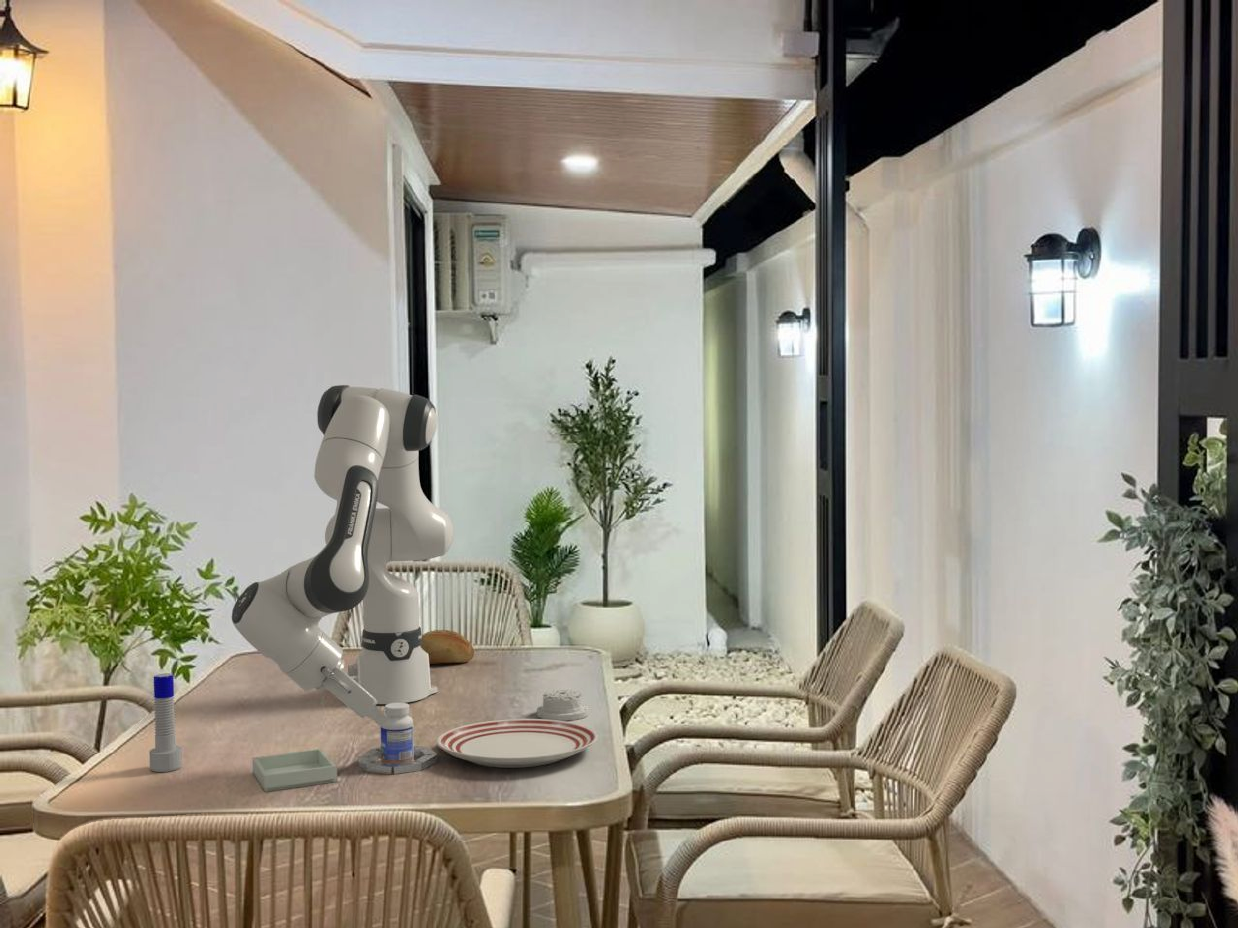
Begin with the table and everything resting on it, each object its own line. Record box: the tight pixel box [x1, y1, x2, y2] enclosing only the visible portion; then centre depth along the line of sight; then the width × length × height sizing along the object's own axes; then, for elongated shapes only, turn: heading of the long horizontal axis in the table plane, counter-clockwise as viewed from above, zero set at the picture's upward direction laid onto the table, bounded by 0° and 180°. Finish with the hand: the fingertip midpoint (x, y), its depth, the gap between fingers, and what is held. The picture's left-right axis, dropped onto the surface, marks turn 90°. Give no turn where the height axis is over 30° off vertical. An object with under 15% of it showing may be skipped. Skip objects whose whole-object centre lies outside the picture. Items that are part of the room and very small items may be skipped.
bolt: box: [148, 672, 183, 773], centre depth 200 cm, size 16×5×5 cm
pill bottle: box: [380, 702, 415, 764], centre depth 202 cm, size 5×5×10 cm
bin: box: [251, 748, 338, 793], centre depth 195 cm, size 11×11×2 cm
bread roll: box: [420, 629, 475, 665], centre depth 281 cm, size 10×15×8 cm, turn 97°
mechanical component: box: [536, 689, 590, 722], centre depth 233 cm, size 10×4×10 cm
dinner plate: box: [436, 718, 599, 769], centre depth 207 cm, size 28×27×3 cm
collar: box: [357, 745, 438, 775], centre depth 202 cm, size 12×12×1 cm
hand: (376, 715), depth 201 cm, fingers open, 8 cm apart
